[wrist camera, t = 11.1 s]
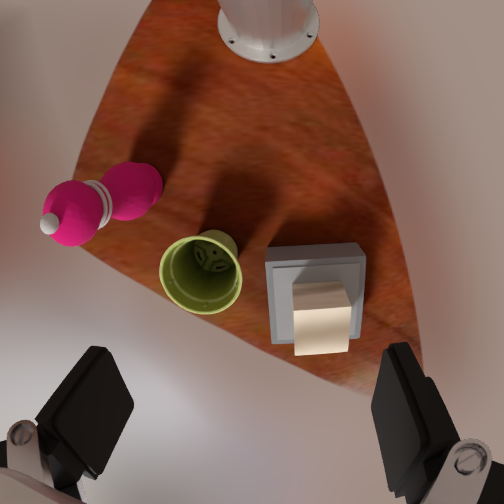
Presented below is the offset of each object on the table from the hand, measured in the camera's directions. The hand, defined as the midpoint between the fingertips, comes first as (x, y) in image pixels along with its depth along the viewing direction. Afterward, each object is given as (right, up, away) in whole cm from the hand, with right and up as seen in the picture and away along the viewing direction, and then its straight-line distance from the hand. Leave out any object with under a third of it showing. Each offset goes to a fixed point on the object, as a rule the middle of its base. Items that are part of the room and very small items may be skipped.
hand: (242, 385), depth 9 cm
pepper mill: (-14, +14, +29) cm, 35 cm away
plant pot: (-5, +5, +31) cm, 32 cm away
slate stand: (+9, 0, +32) cm, 33 cm away
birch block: (+8, -2, +27) cm, 28 cm away
